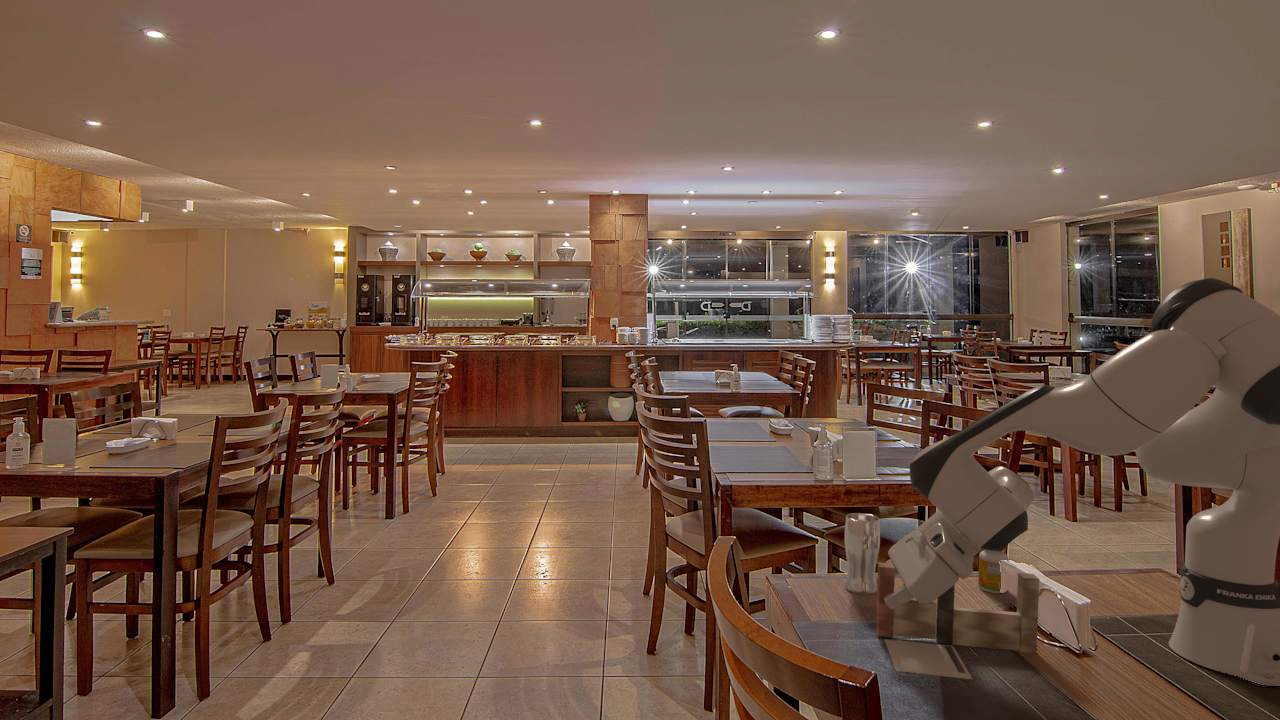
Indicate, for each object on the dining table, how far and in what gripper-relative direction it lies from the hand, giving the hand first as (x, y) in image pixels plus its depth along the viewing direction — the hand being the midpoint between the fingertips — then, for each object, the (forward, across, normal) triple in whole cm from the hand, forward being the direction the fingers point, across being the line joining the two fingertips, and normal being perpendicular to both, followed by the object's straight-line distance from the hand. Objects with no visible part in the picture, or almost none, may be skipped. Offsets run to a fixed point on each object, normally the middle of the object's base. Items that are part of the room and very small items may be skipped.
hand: (882, 594), depth 116 cm
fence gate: (+2, 0, +8) cm, 8 cm away
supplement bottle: (-13, -28, +24) cm, 39 cm away
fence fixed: (-7, 0, +17) cm, 18 cm away
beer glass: (+6, -22, +5) cm, 24 cm away
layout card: (+1, +7, +9) cm, 12 cm away
